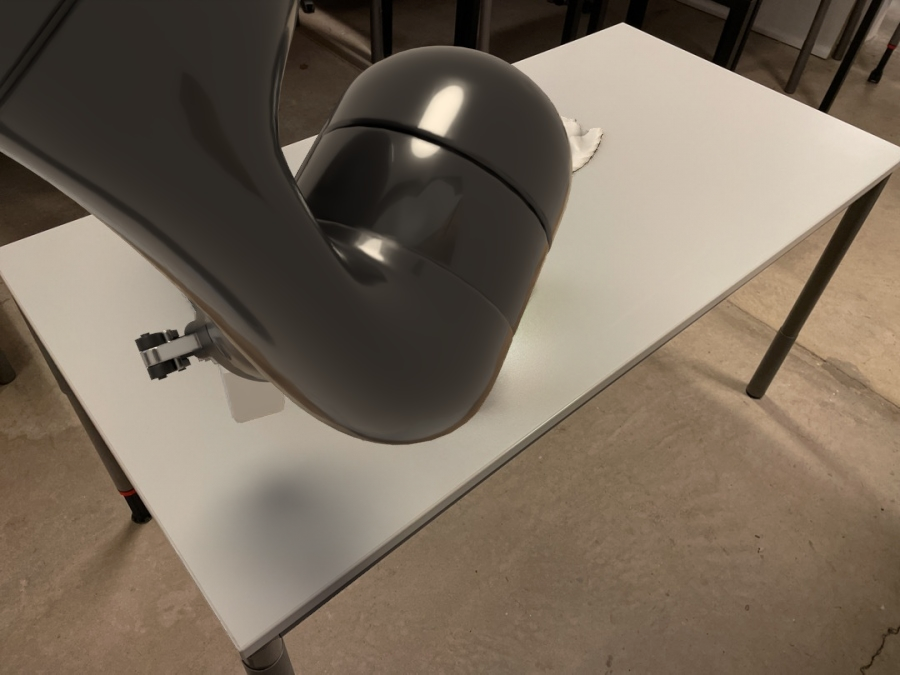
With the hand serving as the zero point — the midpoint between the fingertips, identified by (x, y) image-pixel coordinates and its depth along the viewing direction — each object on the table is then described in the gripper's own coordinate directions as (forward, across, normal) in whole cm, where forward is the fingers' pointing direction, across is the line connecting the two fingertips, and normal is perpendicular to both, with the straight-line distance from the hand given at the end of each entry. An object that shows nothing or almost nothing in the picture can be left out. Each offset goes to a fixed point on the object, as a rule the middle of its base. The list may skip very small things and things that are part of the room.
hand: (234, 330), depth 48 cm
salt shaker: (+3, 0, +6) cm, 7 cm away
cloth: (+39, -64, -12) cm, 76 cm away
